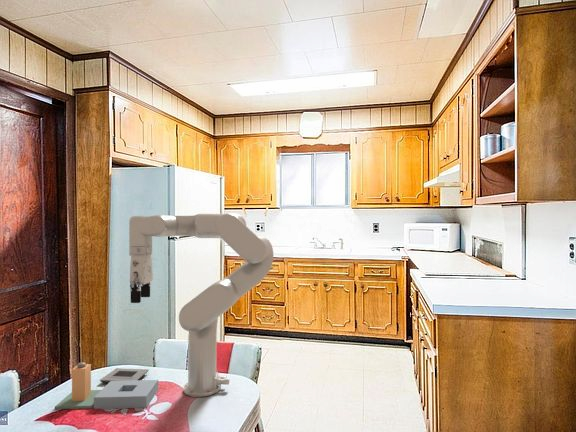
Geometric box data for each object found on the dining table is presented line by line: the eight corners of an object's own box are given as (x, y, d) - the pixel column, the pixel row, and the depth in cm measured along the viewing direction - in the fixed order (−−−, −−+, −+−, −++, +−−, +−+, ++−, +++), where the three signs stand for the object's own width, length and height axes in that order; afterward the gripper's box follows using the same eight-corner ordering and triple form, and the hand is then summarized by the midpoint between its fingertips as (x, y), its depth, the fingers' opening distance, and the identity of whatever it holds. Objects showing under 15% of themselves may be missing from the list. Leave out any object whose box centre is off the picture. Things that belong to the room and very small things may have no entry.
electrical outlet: (149, 374, 141) (149, 368, 141) (135, 387, 131) (135, 380, 131) (116, 373, 142) (116, 367, 142) (99, 385, 132) (99, 379, 132)
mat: (106, 392, 126) (106, 389, 126) (91, 408, 115) (91, 405, 115) (73, 392, 125) (73, 390, 126) (54, 409, 114) (54, 406, 115)
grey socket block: (158, 390, 127) (158, 379, 127) (146, 407, 115) (146, 396, 115) (110, 391, 127) (110, 380, 127) (93, 408, 115) (93, 397, 115)
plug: (90, 394, 122) (90, 361, 123) (84, 400, 118) (85, 365, 119) (78, 395, 122) (78, 361, 122) (71, 400, 118) (72, 366, 118)
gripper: (143, 252, 122) (143, 305, 122) (159, 249, 140) (159, 294, 139) (119, 253, 122) (119, 305, 122) (138, 249, 139) (138, 295, 139)
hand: (140, 299), depth 130 cm, fingers open, 9 cm apart
